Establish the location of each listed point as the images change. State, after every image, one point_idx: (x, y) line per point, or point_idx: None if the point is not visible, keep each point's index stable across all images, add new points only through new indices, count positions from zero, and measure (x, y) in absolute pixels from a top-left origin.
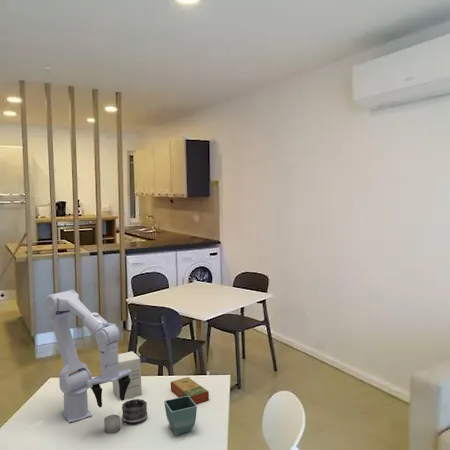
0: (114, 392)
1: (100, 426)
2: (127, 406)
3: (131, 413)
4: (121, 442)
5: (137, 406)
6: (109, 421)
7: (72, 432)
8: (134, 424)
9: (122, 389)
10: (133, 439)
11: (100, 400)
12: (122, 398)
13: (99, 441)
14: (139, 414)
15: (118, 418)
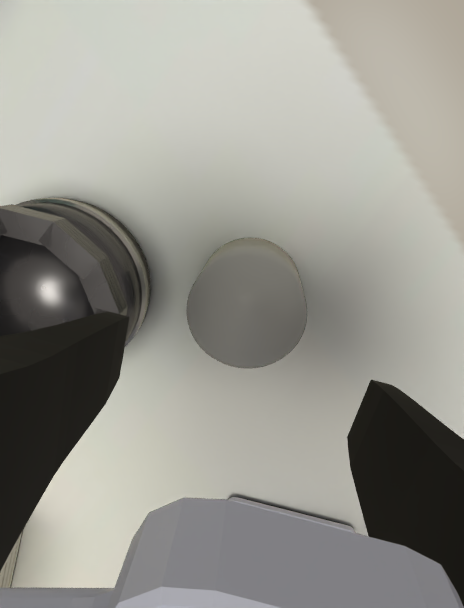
0: (9, 580)
1: (270, 375)
2: None
3: (99, 249)
4: (317, 98)
5: (5, 301)
6: (289, 290)
7: None
8: (116, 221)
9: (58, 380)
10: (237, 57)
11: (430, 422)
12: (120, 320)
13: (394, 237)
14: (51, 210)
15: (214, 271)
